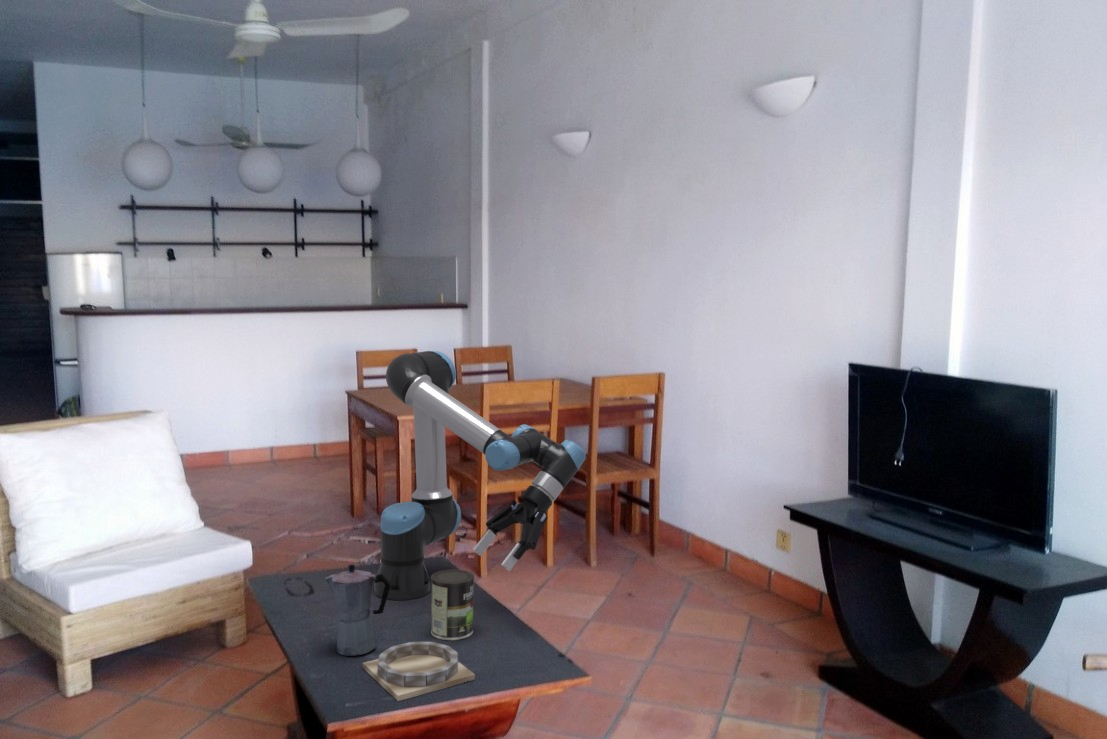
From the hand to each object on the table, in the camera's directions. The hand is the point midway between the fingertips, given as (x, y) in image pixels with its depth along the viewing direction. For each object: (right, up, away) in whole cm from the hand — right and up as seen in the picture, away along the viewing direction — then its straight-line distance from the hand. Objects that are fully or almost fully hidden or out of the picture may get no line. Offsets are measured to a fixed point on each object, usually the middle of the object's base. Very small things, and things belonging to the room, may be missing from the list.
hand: (490, 560), depth 219 cm
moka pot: (-30, -17, -15) cm, 38 cm away
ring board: (-14, -19, -27) cm, 36 cm away
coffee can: (-9, -17, -4) cm, 20 cm away
